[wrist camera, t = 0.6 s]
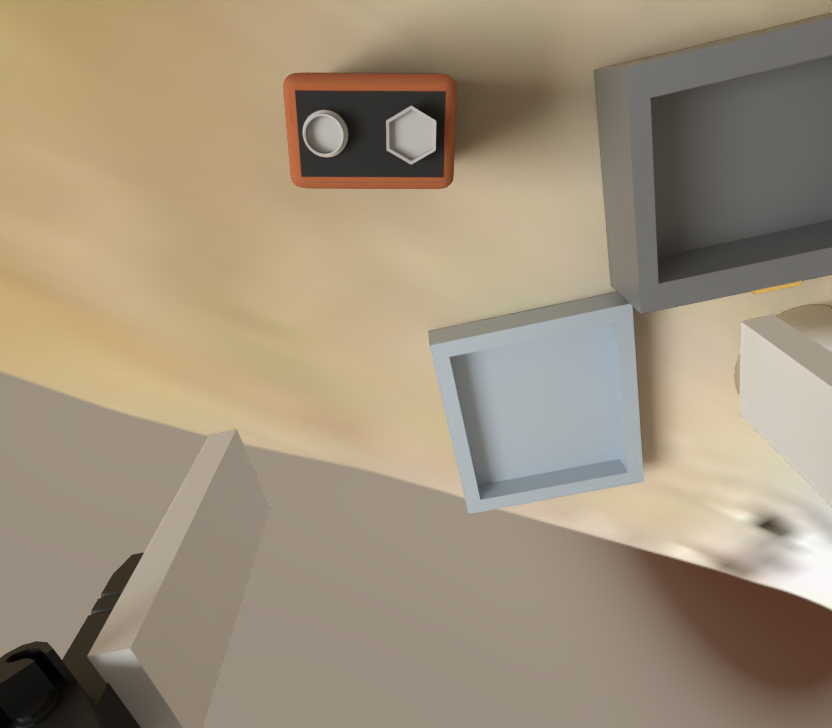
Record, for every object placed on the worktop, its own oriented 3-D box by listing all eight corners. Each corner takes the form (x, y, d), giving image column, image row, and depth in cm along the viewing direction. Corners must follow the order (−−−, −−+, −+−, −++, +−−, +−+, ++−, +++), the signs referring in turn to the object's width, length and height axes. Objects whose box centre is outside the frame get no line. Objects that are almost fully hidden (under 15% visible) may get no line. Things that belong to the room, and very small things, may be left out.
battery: (442, 164, 32) (455, 194, 23) (319, 164, 32) (285, 193, 23) (444, 77, 30) (459, 72, 21) (314, 76, 30) (274, 71, 21)
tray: (428, 331, 37) (429, 345, 35) (619, 291, 36) (632, 303, 34) (465, 493, 42) (468, 513, 40) (632, 462, 41) (643, 481, 39)
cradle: (593, 70, 30) (626, 67, 26) (892, -2, 29) (981, -19, 25) (611, 292, 36) (641, 322, 31) (865, 239, 34) (934, 262, 30)
